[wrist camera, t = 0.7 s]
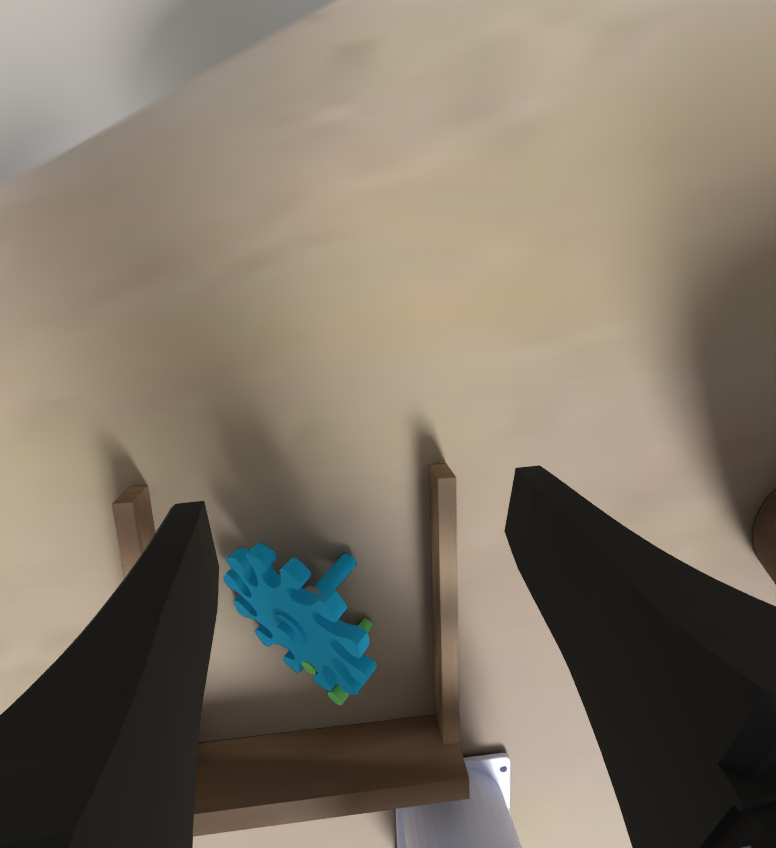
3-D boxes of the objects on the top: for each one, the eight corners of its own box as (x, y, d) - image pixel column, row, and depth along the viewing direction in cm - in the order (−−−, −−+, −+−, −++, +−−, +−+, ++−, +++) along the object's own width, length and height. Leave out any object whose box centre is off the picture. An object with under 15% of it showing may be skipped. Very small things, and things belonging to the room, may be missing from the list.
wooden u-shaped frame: (450, 731, 36) (469, 798, 32) (175, 765, 35) (151, 842, 30) (446, 463, 32) (467, 493, 27) (129, 487, 30) (91, 524, 25)
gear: (187, 547, 30) (312, 581, 23) (263, 485, 34) (387, 499, 27) (269, 684, 34) (393, 744, 28) (328, 614, 38) (448, 653, 32)
